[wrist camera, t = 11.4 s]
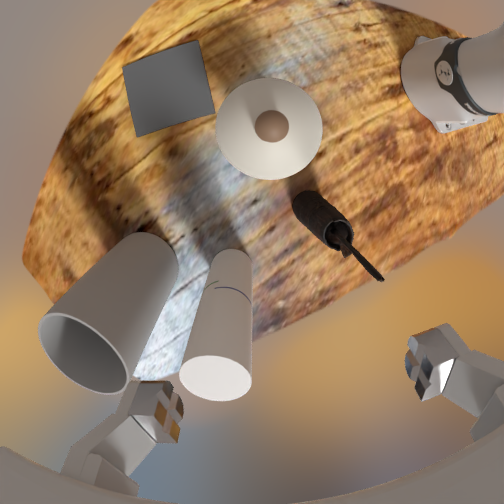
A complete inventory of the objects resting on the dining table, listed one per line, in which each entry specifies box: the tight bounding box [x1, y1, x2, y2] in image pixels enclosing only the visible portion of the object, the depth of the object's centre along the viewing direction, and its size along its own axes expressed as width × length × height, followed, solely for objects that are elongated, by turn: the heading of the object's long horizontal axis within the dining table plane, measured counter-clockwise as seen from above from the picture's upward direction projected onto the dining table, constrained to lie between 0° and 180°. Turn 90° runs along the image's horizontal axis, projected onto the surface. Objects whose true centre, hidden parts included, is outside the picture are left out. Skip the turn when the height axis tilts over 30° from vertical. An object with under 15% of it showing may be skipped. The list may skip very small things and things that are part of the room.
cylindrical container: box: [179, 249, 253, 401], centre depth 37 cm, size 7×7×25 cm
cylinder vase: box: [38, 232, 178, 395], centre depth 36 cm, size 12×12×25 cm
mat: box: [122, 40, 215, 137], centre depth 36 cm, size 13×13×1 cm
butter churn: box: [293, 191, 384, 282], centre depth 31 cm, size 9×10×28 cm
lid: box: [216, 78, 322, 180], centre depth 25 cm, size 11×11×5 cm
